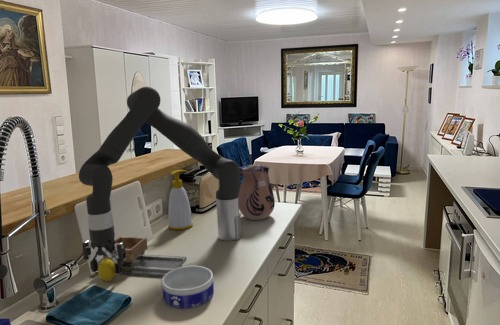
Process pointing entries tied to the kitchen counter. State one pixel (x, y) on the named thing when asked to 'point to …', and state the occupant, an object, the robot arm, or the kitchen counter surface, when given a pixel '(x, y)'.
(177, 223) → the soap bottle
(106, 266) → the lemon
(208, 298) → the dog bowl
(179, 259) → the track
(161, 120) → the robot arm
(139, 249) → the wooden tray box
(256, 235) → the kitchen counter surface
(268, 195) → the ceramic pitcher
